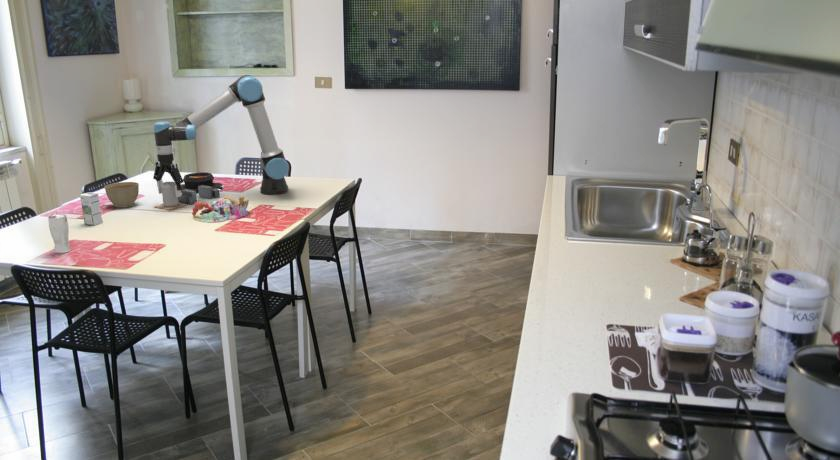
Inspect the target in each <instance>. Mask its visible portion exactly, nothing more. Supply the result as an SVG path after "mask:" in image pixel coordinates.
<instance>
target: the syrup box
mask: <svg viewBox="0 0 840 460" xmlns="http://www.w3.org/2000/svg"><path fill="white" fill-rule="evenodd" d="M79 198H80V203H81V210H82V215H83V221H84V225H87V226H96V225H99V224H102V223H103V222H104V221H103V217H102V212H101V211H102V210H101V205H100V204H101V203H100V197H99V193H98V192H88V191H87V192H84V193H82V194H79Z"/></svg>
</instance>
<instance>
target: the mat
mask: <svg viewBox="0 0 840 460" xmlns="http://www.w3.org/2000/svg"><path fill="white" fill-rule="evenodd" d="M186 207H189V205H186V204H181V203H179V204H178V205H177V206H175V207H166V206H164V205H163V204H159V205H155V206H154V209H159V210H162V211H163V210H164V211H170V212H171V211H174V210H178V209H182V208H186Z"/></svg>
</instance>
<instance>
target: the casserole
mask: <svg viewBox="0 0 840 460" xmlns="http://www.w3.org/2000/svg"><path fill="white" fill-rule="evenodd" d="M182 179H183V183H182V184H181V190H185V189H187V190H193V191H196V193H199V192H198V186H201V185H204V186H210V187H213V188H216V189H217V188H218V189H220V188H221V187H222V186H223V184H222V183H221V182H214V179H215V177H214V175H213V173H211V172H200V171H199V172H192V173H186V174H184V176H183V178H182Z"/></svg>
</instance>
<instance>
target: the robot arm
mask: <svg viewBox="0 0 840 460" xmlns="http://www.w3.org/2000/svg"><path fill="white" fill-rule="evenodd" d="M265 101H266V97H265V94H264V91H263V84H262V83H261V81H260V80H259V79H258V78H257V77H255V76H252V75H250V74H249V75H248V74H245V75H241V76H240V77H238V78H237V79H236V80H235V81H234V82H233V83H231V84H230V85H228V86H227V89H226V90H224V92H222V93H221V94H219V95H218V96H216V97H214V98H213V99H212V100H210V101H209V102H207V103H206V104H204V105H203V106H201V107H199V108H198V109H196V111H193V113H191V114H190V115H188V116H187V117H185V118H184V119H182V120H180V121H178V122H177V123H176V124H175V125H171V124H170V122H169V121H157V122H155V123H154V124H153V132H154V139H155V146H156V153H157V155H156V156H157V157H156V158H157V161H156V162H155V167H154V173H153V177H152V178H153V180H155V181H156V185H157V186H156V187H157V192H158V195H160V194H161V195H162V188H161V186H162V185H163V184H162V183H164V181H163V176H164V174H165V173H167V174H169V176H170V177H171V179H172V180H173V182H175V192H176V197H180V196H181V194H182V193H181V185H182V184H184V181H183V179H184V178H183V177H182V174H181V173H180V169H179V168H178V167H179V166H178V164H177V163H173V162H174V160H175V159H174V153H173V152H174V150H173V143H172V142H176V141H192V140H194V141H195V140H196V139H197V129H199V128H200V127H202V126H203V125H205V124H206V123H208V122H209V121H210V120H212V119H213V118H215V117H216V116H218V115H219V114H221V113H223V112H224V111H225V110H227V109H228V108H229V107H231V106H234V104H236V103H241V104H242V106H243V107H244V108H246V109H247V112H248V115H249V117H250V120H251V123H252V127H253V129H254V132H255V135H256V138H257V141H258V144H259V147H260V149H261V151H260V162H261V173H262V174H261V175H262V179H261V186H260V188H259V189H260V193H261V195H270V196H271V195H281V194H285V193H288V192H289V186H288V184H287V181H286V176H287V175H288V172H289V169H290V168H289V163H288V162H287V160H286V157H285V154H284V151H283V149H282V148H279V146H278V145H279V144H278V143H277V140H276V137H275V133H274V130H273V127H272V125H271V122H270V119H269V116H268V113H267V109H266V106H265V104H264V103H265Z"/></svg>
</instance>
